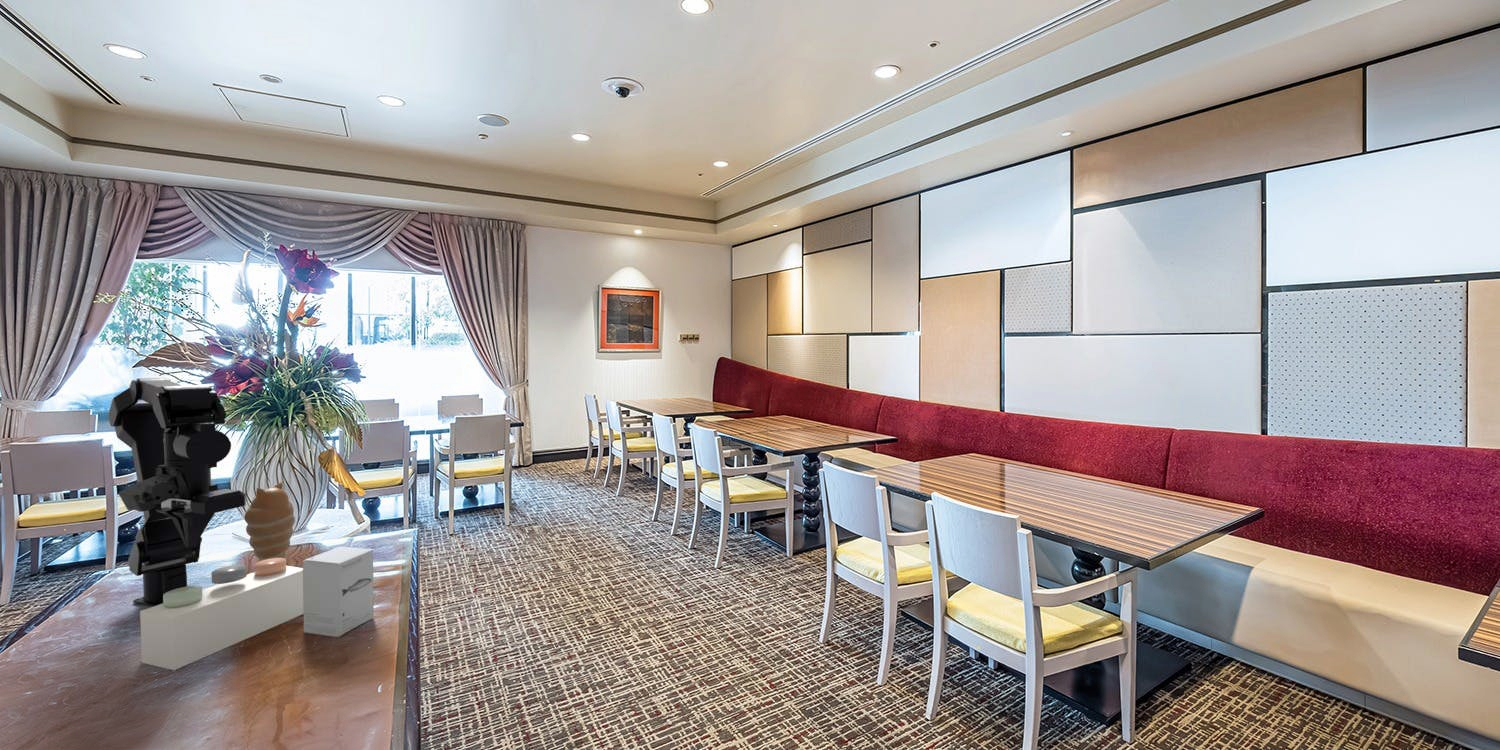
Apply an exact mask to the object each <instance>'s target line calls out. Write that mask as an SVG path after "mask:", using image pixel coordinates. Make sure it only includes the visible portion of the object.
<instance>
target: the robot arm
mask: <svg viewBox="0 0 1500 750" xmlns="http://www.w3.org/2000/svg"><path fill="white" fill-rule="evenodd" d="M226 417H227V411H226V410H225V408H224V405H223V401H222V400H221V397H220V396H218V393H217V391H215V390H213V387H212V386H210V385H208V384H188V385H187V384H186V385H182V384H179V383H177V382H174V381H172V380H171V379H170V378H165V377H148V378H147V377H146V378H145V377H144V378H136V379H132V380H131V382H130V385H129V387H128V388H127V389H125V390H124V391H122V392H120V393H119V394H117V395H115V396H114V397H113V398H112V400H111V404H110V408H109V412H108V421H109V425H110V426H111V427H112V428H113V427H114V431H115V434H116V435H115V436H116V438H117V439H118V440H120V441H121V442H122V443H123V444H125V445H126V446H128V447H129V448H130V449H131V453H132V458H133V463H134V468H135V474H136V480H137V483H136V484H132V485H130V486H129V487H126V488H125V489H122V490H121V491H119V492H118V496H119V497H120V499H121V501H122V502H123V504H124V506H125V508H126V509H127V511H132V510H133V511H138V512H139V513H140V512H142V513H143V517H144V521H143V523H142V525H141V527H139V530H138V532H137V534H136V535H135V536H134V537H135V542H133V545H132V547H131V550H130V554H129V557H128V560H127V561H128V567H129V568H128V569H129V571H130V572H131V573H132V574H133V575H135V577H136V576H137V577H139V576H141V575H142V585H143V587H142V589H143V590H142V591H143V596H141V597H138V598H135V599H132V600H133V601H132V603H133V604H138V605H142V606H148V607H150V608H151V607H154V606H157V605H160V604H163V595H164V594H165V593H166V592H168V591H171V590H174V589H177V588H181V587H187V586H188V574H187V565H189V564H193V563H194V564H195V563H199V559H200V554H201V545H202V542H203V537H202V535H203V534H204V533H205V530H206V528H207V526H208V525H209V523H210V521H211V520H212V519H213V517H214V516H215V514H216V513H219V512H224V511H228V510H233V509H237V508H242V507H245V506H246V505H247V499H246V496H247V495H246V493H245V492H244V491H243V492H242V491H241V490H238V489H231V488H223V489H219V488H218V484H217V483H212V471H211V469H212V468H217V467H218V463H220V462H222V461H223V460H224V459H225V458H227V456H228V455H229V454H230V451H231V449H232V442H231V441H230V438H229V437H228V436H227V435H226V433H223V432H222V431H219V430H218V429H217V430H216V425H225V423H226V420H225V419H226Z"/></svg>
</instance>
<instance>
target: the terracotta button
mask: <svg viewBox="0 0 1500 750" xmlns="http://www.w3.org/2000/svg"><path fill="white" fill-rule="evenodd" d="M253 565H254V568H253V570H254V572H255V575H271V574H275V573H279V572H282V571H284V570H285V569H286V566H287V558H286V557H285V558H271V559H266V560H262V561H259V560H258V562H256V563H254V564H253Z"/></svg>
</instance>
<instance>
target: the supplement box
mask: <svg viewBox="0 0 1500 750" xmlns="http://www.w3.org/2000/svg"><path fill="white" fill-rule="evenodd" d="M302 568H303V612H304V614H303V633H306V634H311V635H319V636H327V637H334V638H339V637H341V636H342V635H345V634H346V633H347V632H349V631H352V630H353V629H355V628H357V627H358V626H360V625H362V624H364V623H366V622H368V621H370V620H372V619H373V618H374V613H375V612H374V605H375V604H374V602H375V601H374V549H372V548H371V549H370V548H361V547H347V546H337V547H335V548H333V549H331V550H327V551H325V552H321V553H319V554H317V555H314V556H311V557H308V558H307V559H303V560H302Z"/></svg>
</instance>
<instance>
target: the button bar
mask: <svg viewBox="0 0 1500 750" xmlns="http://www.w3.org/2000/svg"><path fill="white" fill-rule="evenodd" d="M302 615H304V612H303V567H297V566H292V565H291V566H290V565H286V569H285V570H284V571H282V572H279V573H275V574H271V575H255V572H250V573H247V576H246V577H245V578H243V579H241V580H238V581H235V582H231V583H224V584H216V585H215V584H214V585H212V586H210V587H207V588H204V589H202V599H200V600H199V601H197V602H194V603H191V604H188V605H184V606H178V607H165V606H164V605H163V604H160V605H157V606H154V607H151V606H150V607H148V608H146V609H142V610H139V617H140V618H139V619H140V643H141V644H140V646H141V663H142V664H147V665H151V666H155V667H159V668H164V669H167V670H170V671H171V670H172V671H177V670H178V669H180V668H182V667H185V666H187V665H188V666H189V665H190V664H191V663H195V662H196V661H197V662H198V661H199V660H201V659H203V658H206V657H208V656H210V655H213V654H215V653H218V652H219V651H222V650H224V649H226V648H229V647H230V646H234V645H236V644H238V643H240V642H243V641H245V640H246V639H249V638H251V637H254V636H256V635H258V634H261V633H263V632H265V631H267V630H269V629H272V628H274V627H277V626H279V625H281V624H283V623H286V622H288V621H291V620H293V619H296V618H298V617H300V616H302Z"/></svg>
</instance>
